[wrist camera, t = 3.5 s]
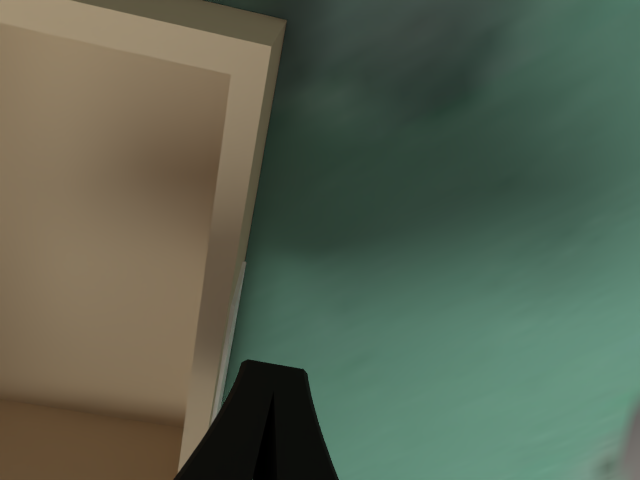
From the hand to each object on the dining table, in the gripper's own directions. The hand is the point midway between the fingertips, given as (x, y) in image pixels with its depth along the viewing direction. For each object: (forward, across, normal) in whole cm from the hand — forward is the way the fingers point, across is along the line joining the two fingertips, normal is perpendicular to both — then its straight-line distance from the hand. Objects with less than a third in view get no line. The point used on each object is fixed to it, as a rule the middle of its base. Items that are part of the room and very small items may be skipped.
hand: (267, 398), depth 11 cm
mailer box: (+5, +6, 0) cm, 8 cm away
